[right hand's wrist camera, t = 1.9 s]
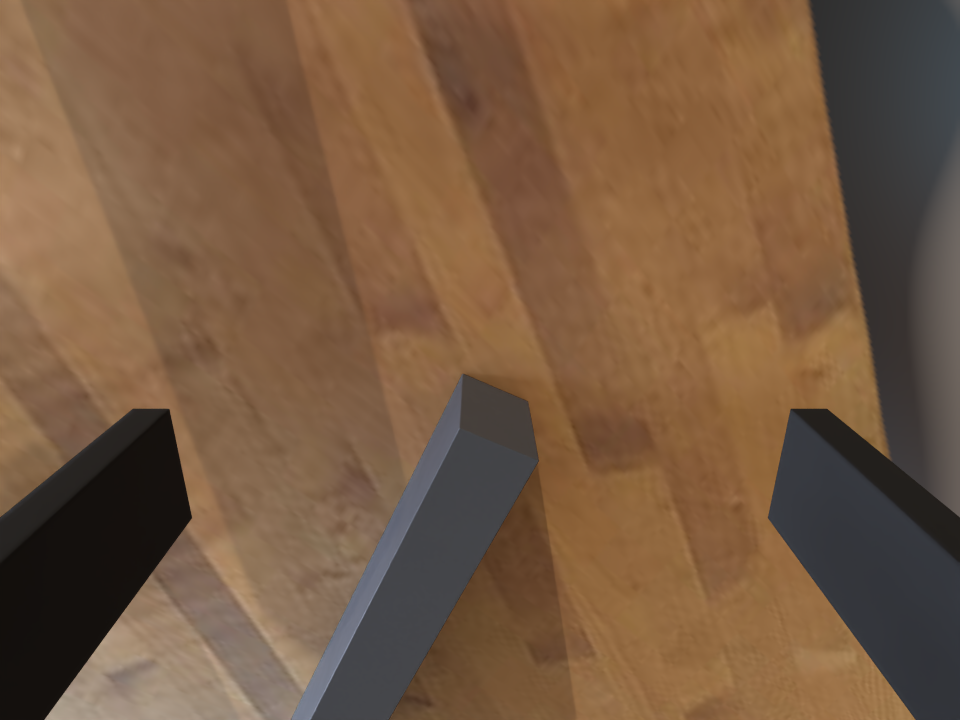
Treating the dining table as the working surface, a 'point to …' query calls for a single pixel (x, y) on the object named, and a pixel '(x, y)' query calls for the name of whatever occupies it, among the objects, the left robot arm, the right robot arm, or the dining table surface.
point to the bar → (425, 554)
